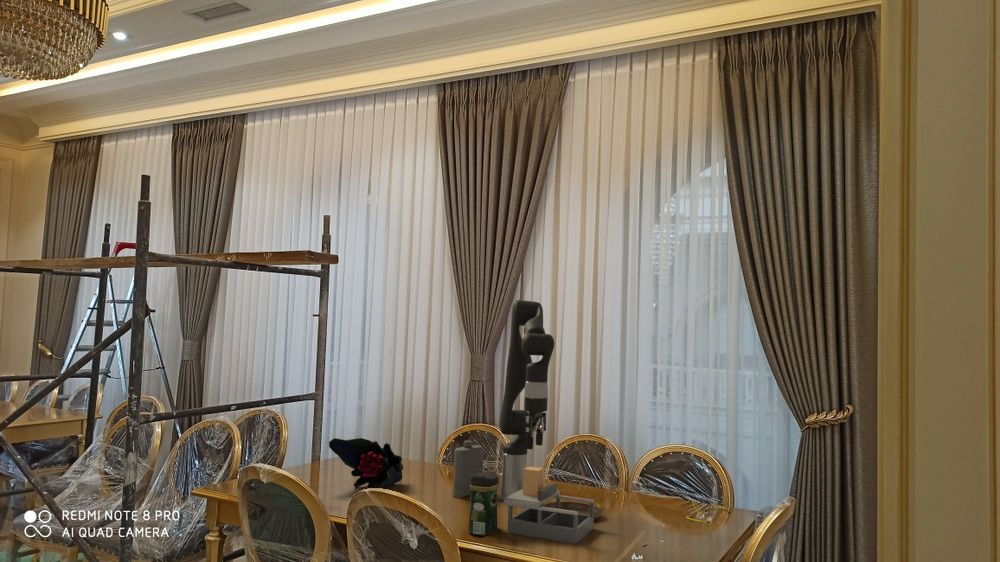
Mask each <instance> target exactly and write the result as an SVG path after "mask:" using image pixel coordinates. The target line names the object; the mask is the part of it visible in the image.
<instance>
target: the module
mask: <svg viewBox="0 0 1000 562" xmlns="http://www.w3.org/2000/svg"><path fill="white" fill-rule="evenodd" d="M544 471H545V470H544V467H535V466H527V468H525V469H523V495H527V496H535V497H538V491H539V490H540V489H542V488H544Z"/></svg>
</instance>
